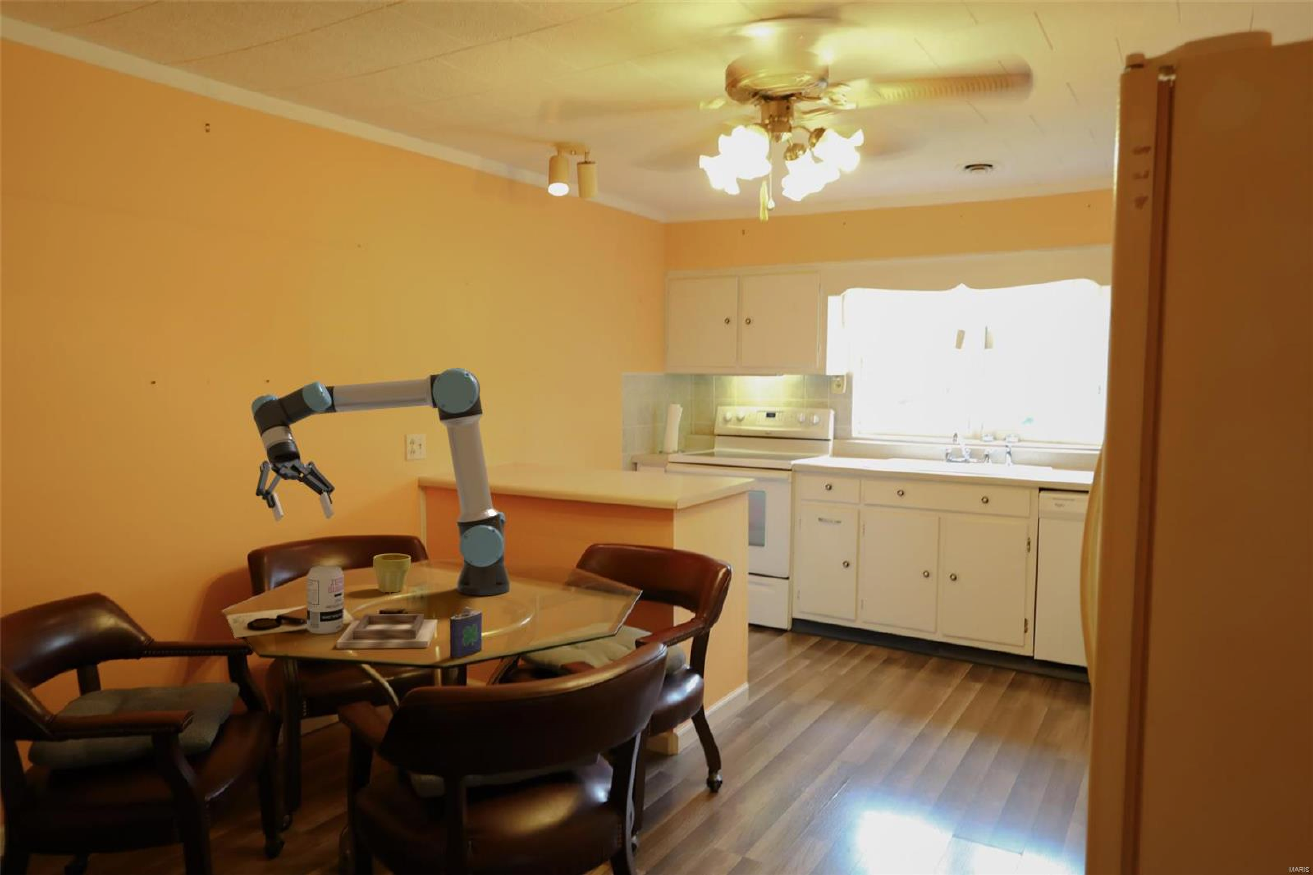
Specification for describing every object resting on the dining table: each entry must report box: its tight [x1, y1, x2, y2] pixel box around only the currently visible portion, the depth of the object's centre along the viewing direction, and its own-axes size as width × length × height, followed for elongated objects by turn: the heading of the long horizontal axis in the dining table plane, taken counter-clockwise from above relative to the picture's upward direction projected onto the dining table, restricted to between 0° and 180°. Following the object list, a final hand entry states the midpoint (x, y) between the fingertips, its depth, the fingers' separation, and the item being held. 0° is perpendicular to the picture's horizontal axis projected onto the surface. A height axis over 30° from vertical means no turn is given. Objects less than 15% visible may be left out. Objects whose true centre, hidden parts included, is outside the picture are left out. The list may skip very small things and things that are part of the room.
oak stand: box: [336, 613, 438, 650], centre depth 206 cm, size 20×18×4 cm
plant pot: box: [372, 553, 412, 594], centre depth 250 cm, size 10×10×10 cm
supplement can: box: [306, 565, 345, 635], centre depth 210 cm, size 8×8×15 cm
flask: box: [449, 606, 483, 660], centre depth 195 cm, size 9×3×11 cm, turn 148°
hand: (305, 517), depth 217 cm, fingers open, 13 cm apart
